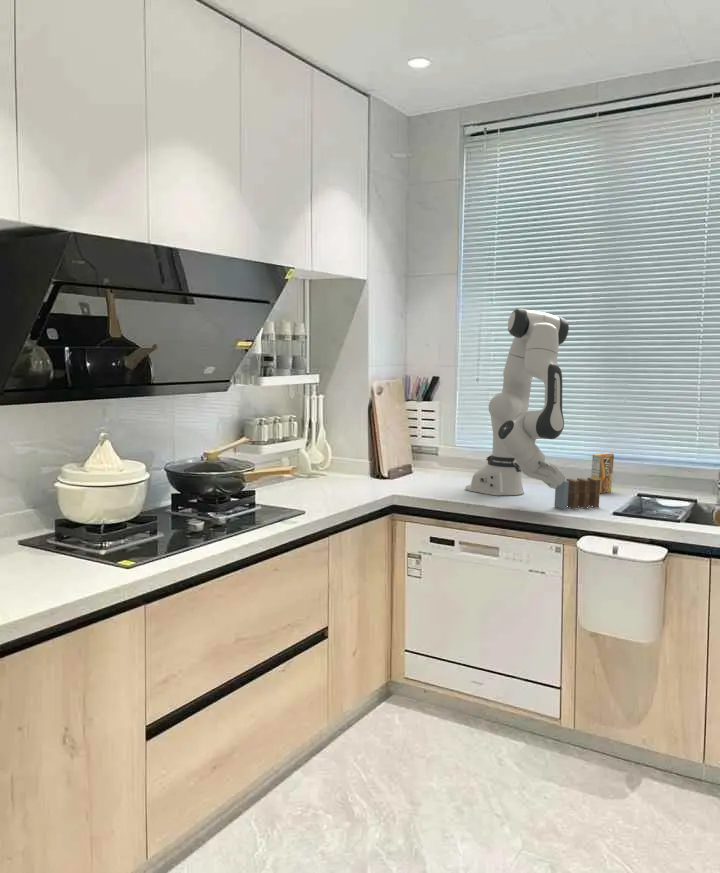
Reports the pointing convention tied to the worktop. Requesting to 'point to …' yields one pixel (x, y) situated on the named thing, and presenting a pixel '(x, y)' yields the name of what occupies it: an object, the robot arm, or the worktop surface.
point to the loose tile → (562, 495)
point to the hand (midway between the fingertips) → (553, 486)
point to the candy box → (603, 470)
